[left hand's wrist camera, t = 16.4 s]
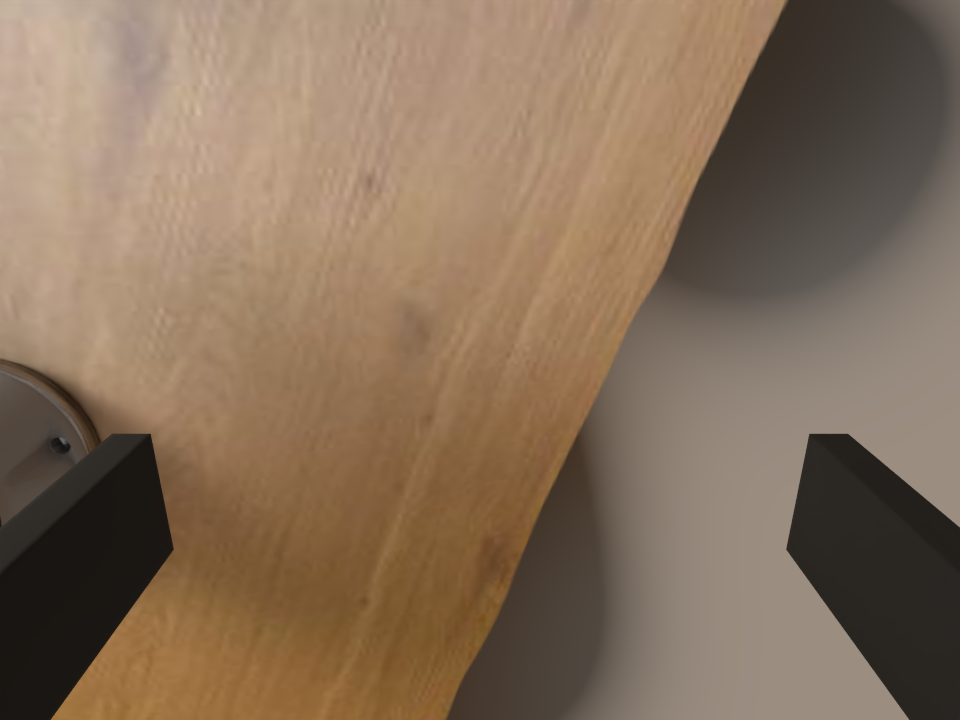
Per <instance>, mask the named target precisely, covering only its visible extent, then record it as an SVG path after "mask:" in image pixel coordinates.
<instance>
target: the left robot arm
mask: <svg viewBox="0 0 960 720" xmlns="http://www.w3.org/2000/svg"><path fill="white" fill-rule="evenodd" d="M173 550H174V549H173V544H172V539H171V534H170V529H169V524H168V519H167V514H166V509H165V504H164V499H163V494H162V489H161V484H160V479H159V474H158V469H157V464H156V459H155V454H154V449H153V444H152V439H151V434H111V435H110V436H109V437H108V438H107V439H105V440H104V441H103V442H102V443H101V444H100V443H99V440H98V437H97V435H96V433H95V431H94V429H93V427H92V425H91V423H90V421H89V420H88V418H87V417H86V415H85V414H84V413H83V411H82V410H81V409H80V408H79V406H78V405H77V404H76V403H75V402H74V401H73V400H72V399H71V398H70V397H69V396H68V395H67V394H66V393H65V392H64V391H63V390H61V389H60V388H59V387H58V386H56V385H55V384H54V383H52V382H51V381H49V380H48V379H46V378H45V377H43V376H41V375H39V374H38V373H36V372H34V371H32V370H30V369H27V368H25V367H23V366H20V365H17V364H14V363H11V362H8V361H4V360H0V720H51V718H52V717H53V716H54V714H55V713H56V712H57V710H58V709H59V707H60V706H61V705H62V703H63V702H64V700H65V699H66V698H67V696H68V695H69V694H70V692H71V691H72V689H73V688H74V687H75V685H76V684H77V682H78V681H79V680H80V678H81V677H82V676H83V674H84V673H85V671H86V670H87V669H88V667H89V666H90V664H91V663H92V662H93V660H94V659H95V658H96V656H97V655H98V653H99V652H100V651H101V649H102V648H103V647H104V645H105V644H106V642H107V641H108V640H109V638H110V637H111V635H112V634H113V633H114V631H115V630H116V629H117V627H118V626H119V624H120V623H121V622H122V620H123V619H124V617H125V616H126V615H127V613H128V612H129V611H130V609H131V608H132V606H133V605H134V604H135V602H136V601H137V599H138V598H139V597H140V595H141V594H142V593H143V591H144V590H145V588H146V587H147V586H148V584H149V583H150V581H151V580H152V579H153V577H154V576H155V575H156V573H157V572H158V570H159V569H160V568H161V566H162V565H163V564H164V562H165V561H166V559H167V558H168V557H169V555H170V554H171V552H172V551H173ZM786 550H787V551H788V552H789V554H790V555H791V557H792V558H793V559H794V561H795V562H796V564H797V565H798V566H799V568H800V569H801V570H802V572H803V573H804V575H805V576H806V577H807V579H808V580H809V581H810V583H811V584H812V586H813V587H814V588H815V590H816V591H817V592H818V594H819V595H820V597H821V598H822V599H823V601H824V602H825V604H826V605H827V606H828V608H829V609H830V611H831V612H832V613H833V615H834V616H835V617H836V619H837V620H838V622H839V623H840V624H841V626H842V627H843V629H844V630H845V631H846V633H847V634H848V635H849V637H850V638H851V640H852V641H853V642H854V644H855V645H856V647H857V648H858V649H859V651H860V652H861V653H862V655H863V656H864V658H865V659H866V660H867V662H868V663H869V664H870V666H871V667H872V669H873V670H874V671H875V673H876V674H877V676H878V677H879V678H880V680H881V681H882V682H883V684H884V685H885V687H886V688H887V689H888V691H889V692H890V694H891V695H892V696H893V698H894V699H895V700H896V702H897V703H898V705H899V706H900V707H901V709H902V710H903V711H904V713H905V714H906V716H907V717H908V718H909V720H960V527H958V526H957V525H956V524H955V523H954V522H952V521H951V520H950V519H949V518H948V517H947V516H945V515H944V514H943V513H942V512H941V511H939V510H938V509H937V508H936V507H935V506H933V505H932V504H931V503H930V502H929V501H927V500H926V499H925V498H924V497H923V496H921V495H920V494H919V493H918V492H917V491H915V490H914V489H913V488H912V487H911V486H910V485H908V484H907V483H906V482H905V481H904V480H902V479H901V478H900V477H899V476H898V475H896V474H895V473H894V472H893V471H892V470H890V469H889V468H888V467H887V466H886V465H884V464H883V463H882V462H881V461H880V460H878V459H877V458H876V457H875V456H874V455H873V454H871V453H870V452H869V451H868V450H867V449H865V448H864V447H863V446H862V445H861V444H859V443H858V442H857V441H856V440H855V439H853V438H852V437H851V436H850V435H849V434H809V439H808V444H807V449H806V454H805V459H804V464H803V469H802V474H801V479H800V484H799V489H798V494H797V499H796V504H795V509H794V514H793V519H792V524H791V529H790V534H789V539H788V544H787V549H786Z"/></svg>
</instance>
